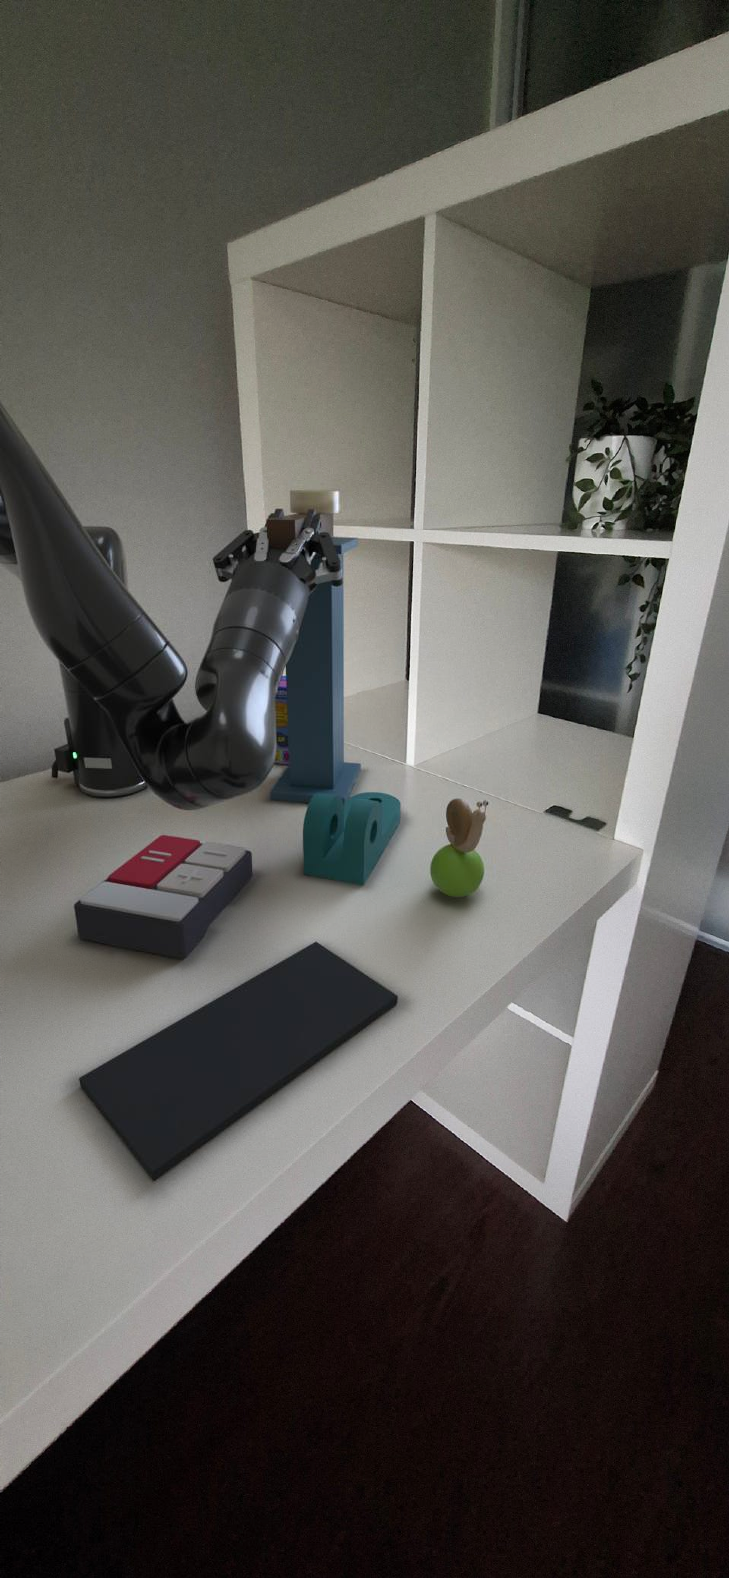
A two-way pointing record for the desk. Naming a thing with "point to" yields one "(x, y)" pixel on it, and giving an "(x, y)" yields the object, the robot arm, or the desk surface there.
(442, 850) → the snail figurine
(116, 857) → the desk surface
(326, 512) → the tape bar
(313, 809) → the bracket
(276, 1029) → the rubber mat
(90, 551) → the robot arm
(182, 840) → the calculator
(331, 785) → the stand
